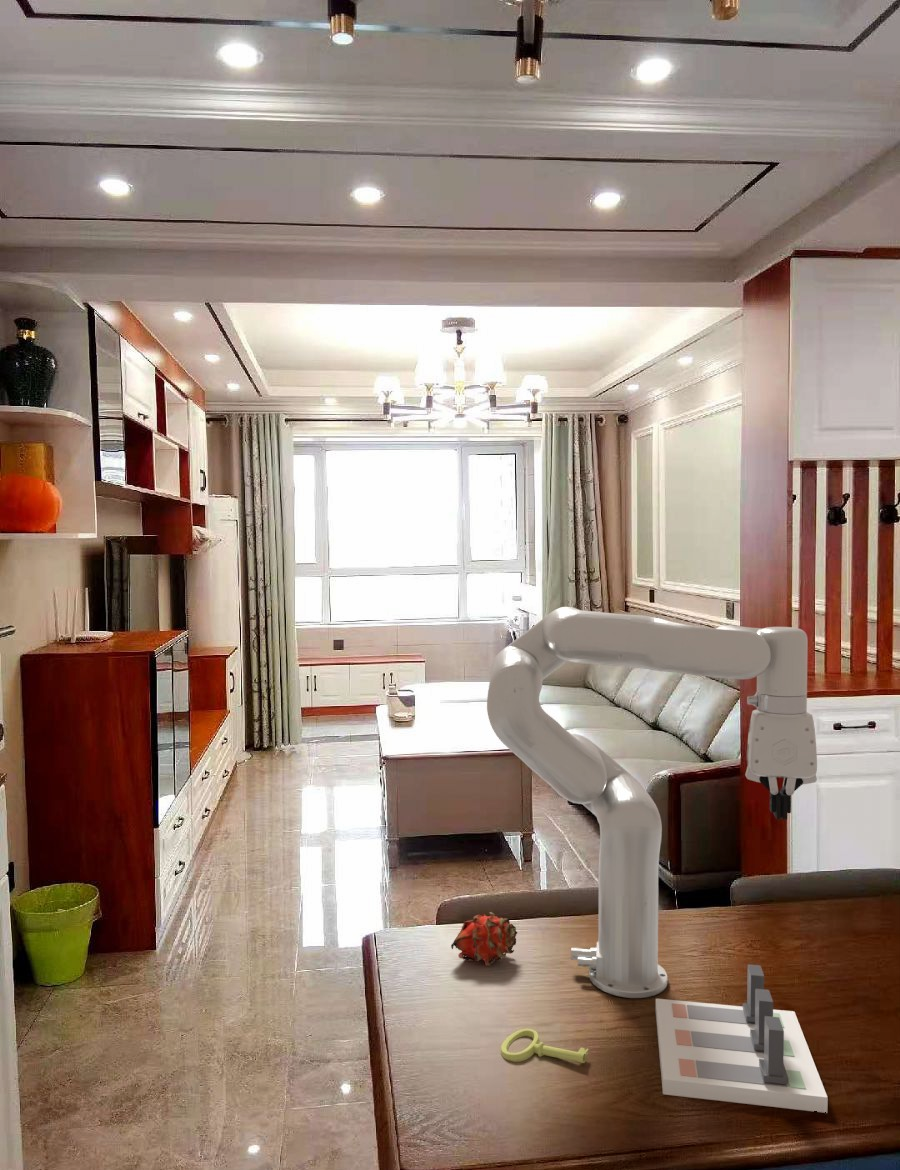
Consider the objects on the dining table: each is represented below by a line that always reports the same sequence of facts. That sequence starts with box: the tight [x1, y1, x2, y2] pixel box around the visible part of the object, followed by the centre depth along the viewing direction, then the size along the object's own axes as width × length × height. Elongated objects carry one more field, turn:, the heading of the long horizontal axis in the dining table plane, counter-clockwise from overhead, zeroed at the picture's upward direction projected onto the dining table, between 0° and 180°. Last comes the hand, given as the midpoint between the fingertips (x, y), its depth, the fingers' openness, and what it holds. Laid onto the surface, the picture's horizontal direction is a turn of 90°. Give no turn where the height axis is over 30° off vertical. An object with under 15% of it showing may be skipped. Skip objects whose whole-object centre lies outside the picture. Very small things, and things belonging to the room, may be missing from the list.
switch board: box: [655, 998, 829, 1114], centre depth 118 cm, size 20×20×2 cm
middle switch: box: [750, 988, 774, 1051], centre depth 117 cm, size 3×4×7 cm
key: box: [500, 1028, 590, 1064], centre depth 120 cm, size 7×12×2 cm, turn 79°
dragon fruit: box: [450, 911, 519, 967], centre depth 146 cm, size 8×8×12 cm
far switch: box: [742, 964, 765, 1022], centre depth 124 cm, size 3×4×7 cm
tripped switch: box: [759, 1016, 788, 1084], centre depth 111 cm, size 3×4×7 cm
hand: (780, 816), depth 138 cm, fingers closed
